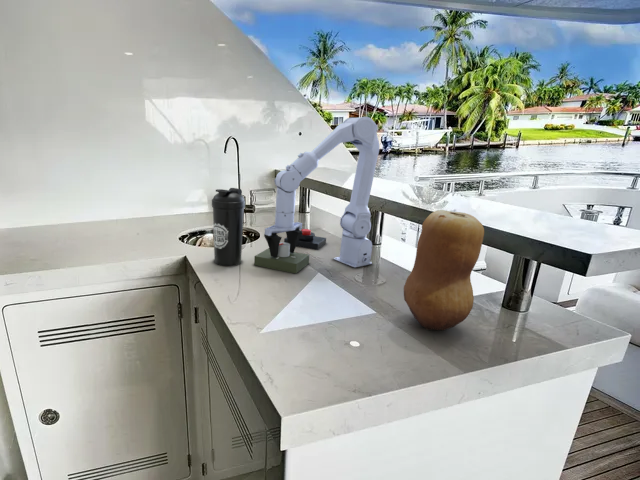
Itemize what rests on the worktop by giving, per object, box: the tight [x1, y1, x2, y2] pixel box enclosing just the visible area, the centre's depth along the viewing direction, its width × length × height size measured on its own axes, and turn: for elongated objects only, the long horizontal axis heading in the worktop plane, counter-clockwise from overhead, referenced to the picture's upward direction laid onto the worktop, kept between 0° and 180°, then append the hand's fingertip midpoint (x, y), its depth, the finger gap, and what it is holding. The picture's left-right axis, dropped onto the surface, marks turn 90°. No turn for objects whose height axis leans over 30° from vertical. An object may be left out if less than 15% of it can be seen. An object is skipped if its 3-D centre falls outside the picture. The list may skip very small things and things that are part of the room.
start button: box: [300, 228, 312, 235], centre depth 141 cm, size 4×4×2 cm
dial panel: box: [253, 247, 310, 274], centre depth 119 cm, size 14×11×3 cm
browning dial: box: [277, 241, 290, 257], centre depth 118 cm, size 4×4×4 cm
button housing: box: [283, 231, 327, 250], centre depth 142 cm, size 13×10×4 cm
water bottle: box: [211, 187, 246, 267], centre depth 117 cm, size 10×10×23 cm
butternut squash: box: [403, 209, 485, 331], centre depth 79 cm, size 14×13×25 cm
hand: (282, 254), depth 119 cm, fingers open, 7 cm apart
